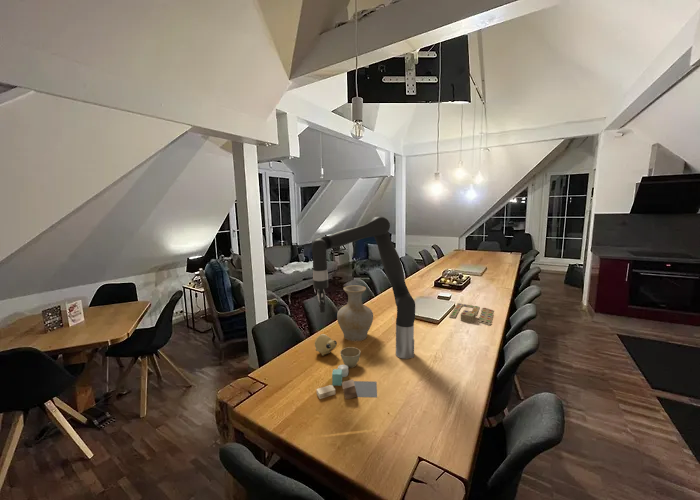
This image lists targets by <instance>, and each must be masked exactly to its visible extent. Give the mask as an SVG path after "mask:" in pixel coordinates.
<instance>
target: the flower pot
mask: <svg viewBox="0 0 700 500" xmlns="http://www.w3.org/2000/svg"><path fill="white" fill-rule="evenodd" d="M339 354H340V357H341V360H342V362H343V365H347V366H348V369H352V368H355V367H356V366H357V365H358V362H359V360H360V356H361V349H359V348H357V347H353V346H351V347H350V346H348V347H345V348H342V349H341V350H340V353H339Z"/></svg>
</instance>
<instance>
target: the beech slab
mask: <svg viewBox="0 0 700 500" xmlns="http://www.w3.org/2000/svg"><path fill="white" fill-rule="evenodd" d="M316 395H317V398H318V399H319V400H321V399H325V398H328V397H331V396H335V395H336V388H335V387H334V386H333V385H332V384H329V385H326V386H322V387H319V388H316Z"/></svg>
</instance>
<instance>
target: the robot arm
mask: <svg viewBox="0 0 700 500" xmlns="http://www.w3.org/2000/svg"><path fill="white" fill-rule="evenodd" d="M390 223H391V222H390V221H389V220H388V219H387V218H386V217H384V216H374V217H373V218H371V220H370V221H369V222H368V223H365V224H362V225H359V226H357V227H352V228H348V229H344V230H340V231H337V232H335V233H332V234H328V235H325V236H321V237H317V238H316V239H314V240H313V241H312V243H311V253H312V285H313V286H312V287H313V289H314V290H317V291H316V295H317V300H318V306H319V312H320V313H325V311H326V309H325V307H326V291H325V289H327V288H329V273H328V272H329V271H328V262H327V261H328V260H327V250H330V249H333V248H334V249H335V248H340V247H342V246H345V245H349V244H351V243H353V242H357V241H359V240H362V239H367V238H370V237H371V238H372V237H373V238H374V240H375V242H376V245H377V248H378V252H379V256H380V260H381V264H382V266H383V270H384V272H385V275H386V277H387V279H388V281H389V283H390V286H391V288H392V292H393V297H394V301H395V305H396V319H395V355H396V357H397V358H400V359H403V360H406V359H407V360H408V359H411V358H412V359H413V358H415V338H414V336H415V331H414V329H415V321H416V302H415V299H414V298H413V297H412V295H411V293H410V291H409V289H408V287H407V285H406V281H405V272H404V268H403V264H402V261H401V258H400V256H399V253H398V252H397V250H396V248H395V246H394V244H393V242H392V240H391V235H390V234H389V230H390V227H391V224H390Z"/></svg>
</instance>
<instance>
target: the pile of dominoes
mask: <svg viewBox="0 0 700 500" xmlns="http://www.w3.org/2000/svg"><path fill="white" fill-rule="evenodd" d="M462 307H465V308H470V309H472V310H466V309H465V310H463V311H462V312H460V310H461V309H462ZM479 310H480V306H478V305H471V304H465V303H460V302H459V303H456V305H455V307H454V308H453V310H452V311H451V313H450V314H449V316H448V318H450V319H457V318H456V317H457V316H458V314H459V312H460V322H464V323H469V324H474V322H475V320H476V318H477V315H478V314H479ZM480 311H481V312H480V314H479V316H478V320H477V323H479V324H482V325H486V326H488V327H489V326H491V325H492V324H493V323H492V322H493V318H494V311H495V310H494V309H491V308H487V307H482V308H481V310H480Z"/></svg>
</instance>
